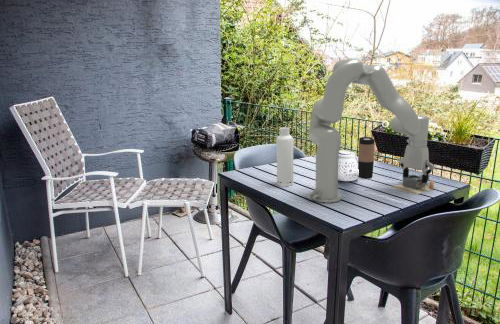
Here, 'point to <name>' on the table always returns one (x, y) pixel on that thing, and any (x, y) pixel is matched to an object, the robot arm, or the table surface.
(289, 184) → the bottle
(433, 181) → the dowel
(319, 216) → the table surface
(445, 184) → the table surface
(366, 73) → the robot arm
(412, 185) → the flange
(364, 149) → the travel mug
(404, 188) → the board
